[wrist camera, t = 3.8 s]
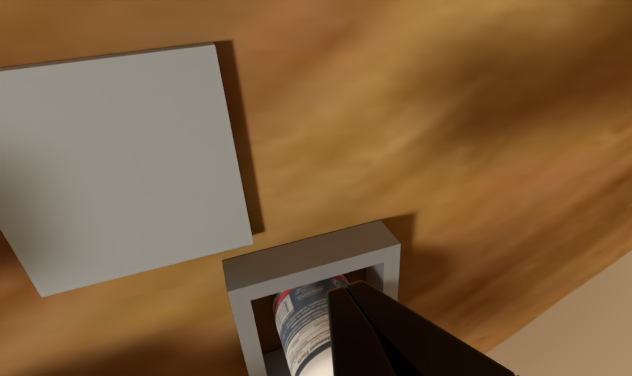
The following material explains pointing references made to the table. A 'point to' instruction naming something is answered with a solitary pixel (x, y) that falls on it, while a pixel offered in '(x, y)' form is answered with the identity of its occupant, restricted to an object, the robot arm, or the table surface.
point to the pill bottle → (306, 326)
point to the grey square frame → (305, 278)
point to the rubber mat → (117, 165)
